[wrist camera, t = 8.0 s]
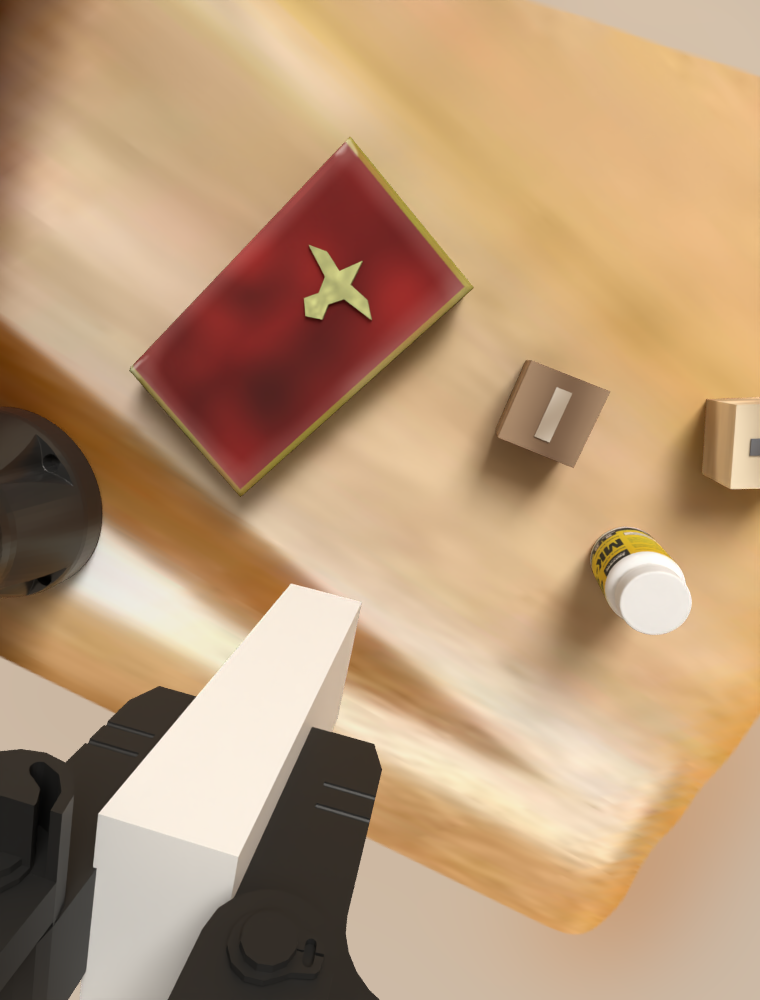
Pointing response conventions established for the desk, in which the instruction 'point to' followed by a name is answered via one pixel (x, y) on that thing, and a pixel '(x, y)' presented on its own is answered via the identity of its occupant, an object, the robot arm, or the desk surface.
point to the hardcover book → (300, 320)
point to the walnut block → (551, 413)
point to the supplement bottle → (640, 581)
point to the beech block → (732, 442)
